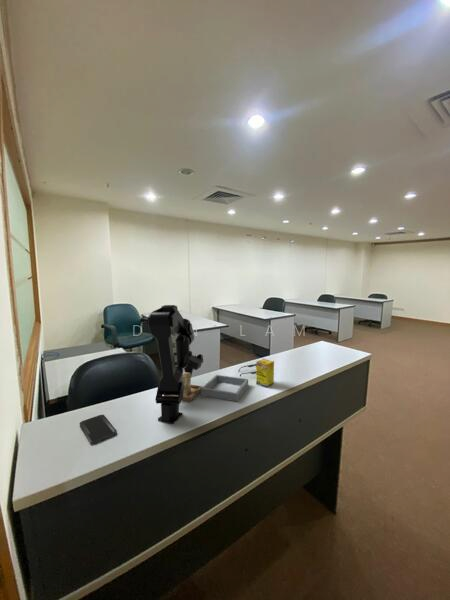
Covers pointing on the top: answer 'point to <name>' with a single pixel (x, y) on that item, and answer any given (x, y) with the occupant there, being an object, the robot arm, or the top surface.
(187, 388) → the maple block
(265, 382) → the supplement box
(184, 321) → the robot arm
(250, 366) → the sunglasses
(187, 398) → the walnut tray
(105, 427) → the phone
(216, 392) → the slate bin
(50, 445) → the top surface
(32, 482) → the top surface
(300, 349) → the top surface
